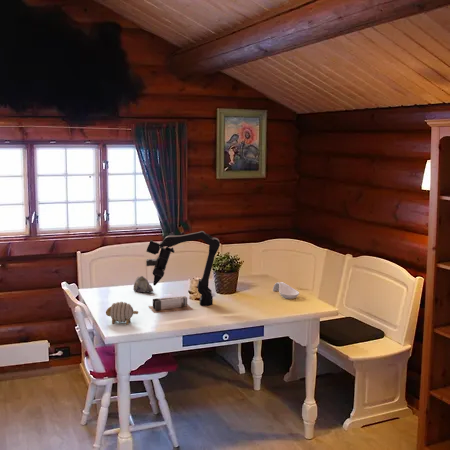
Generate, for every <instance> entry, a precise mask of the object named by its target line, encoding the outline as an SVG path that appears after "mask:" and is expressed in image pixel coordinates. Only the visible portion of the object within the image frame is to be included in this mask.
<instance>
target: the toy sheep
mask: <svg viewBox="0 0 450 450" xmlns="http://www.w3.org/2000/svg"><path fill="white" fill-rule="evenodd" d="M138 314H139V311H137V310H134V308H133V307H132V305H131V303H127V302H123V301H120V302H119V301H117V302H113V303H112V304H111V306H109V307H107V308H106V310H105V315H106V316H107V317H111V318H110V319H111V325H114V324H115V322H118V323H125V324H126V325H127V324H128V325H129V323H131V318H132V317H133V315H138Z"/></svg>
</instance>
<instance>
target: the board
mask: <svg viewBox="0 0 450 450" xmlns="http://www.w3.org/2000/svg"><path fill="white" fill-rule="evenodd" d="M148 308H149V309H150V311H152V313H153V314H157V313H158V314H160V313H169V312H170V313H171V312H182V311H194V309H193V308H192V307H191V306H190V305H189V304H188V303H187V306H186V307H185V306H184V307H177V308H170V309H163V310H155V308H153V305H152V306H151V305H150V306H149V305H148Z"/></svg>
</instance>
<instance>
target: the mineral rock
mask: <svg viewBox="0 0 450 450" xmlns="http://www.w3.org/2000/svg"><path fill="white" fill-rule="evenodd" d="M132 290H133V291H134V292H139V293H151V292H154V289H153V286H152V284H150V283H149V280H148V279H147V278H145V277H144V275H140V276H137V278H136V279H135V280H134V284H133V289H132Z"/></svg>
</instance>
